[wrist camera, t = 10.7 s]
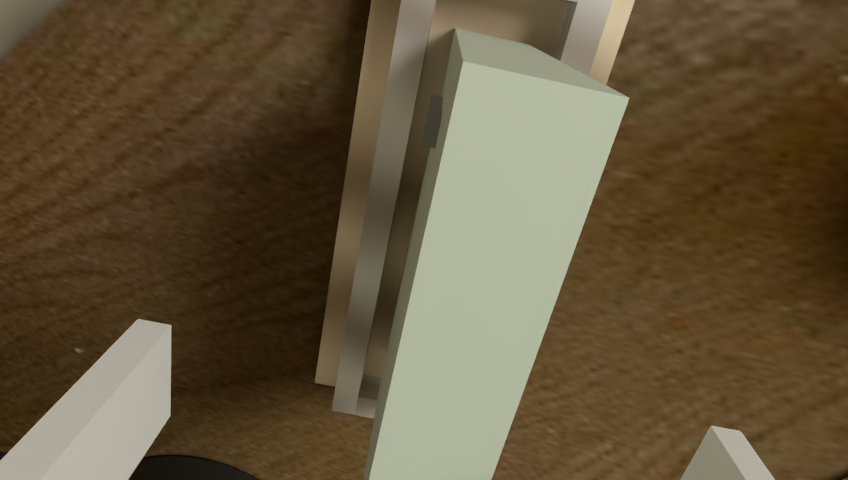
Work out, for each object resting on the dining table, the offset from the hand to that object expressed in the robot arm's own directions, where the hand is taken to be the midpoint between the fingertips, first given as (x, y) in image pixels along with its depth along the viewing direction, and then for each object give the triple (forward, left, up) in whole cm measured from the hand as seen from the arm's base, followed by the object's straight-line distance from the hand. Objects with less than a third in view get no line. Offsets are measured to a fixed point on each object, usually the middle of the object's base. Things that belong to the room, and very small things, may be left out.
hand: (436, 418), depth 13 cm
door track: (0, 0, -14) cm, 14 cm away
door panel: (0, 0, -13) cm, 13 cm away
